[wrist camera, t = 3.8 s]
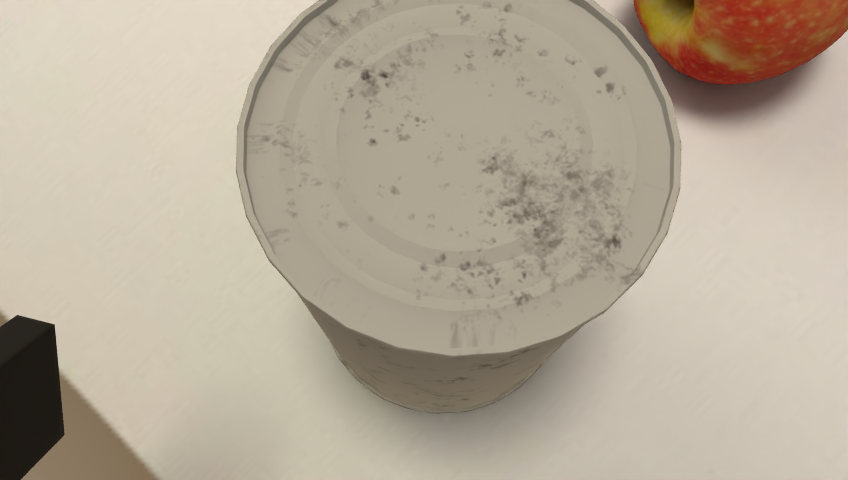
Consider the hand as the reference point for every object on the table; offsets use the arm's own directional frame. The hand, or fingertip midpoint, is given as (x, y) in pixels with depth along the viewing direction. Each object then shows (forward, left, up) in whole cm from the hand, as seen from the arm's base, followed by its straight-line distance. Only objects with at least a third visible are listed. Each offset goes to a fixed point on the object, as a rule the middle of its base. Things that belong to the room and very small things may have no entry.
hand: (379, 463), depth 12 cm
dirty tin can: (+1, +7, -12) cm, 14 cm away
